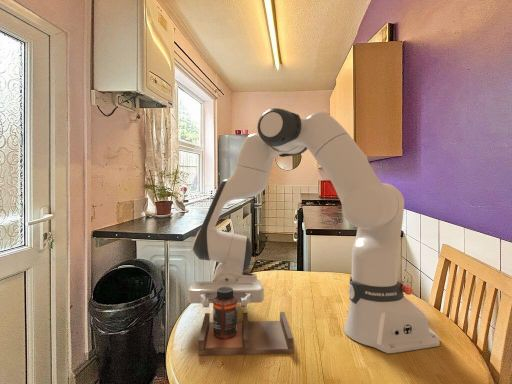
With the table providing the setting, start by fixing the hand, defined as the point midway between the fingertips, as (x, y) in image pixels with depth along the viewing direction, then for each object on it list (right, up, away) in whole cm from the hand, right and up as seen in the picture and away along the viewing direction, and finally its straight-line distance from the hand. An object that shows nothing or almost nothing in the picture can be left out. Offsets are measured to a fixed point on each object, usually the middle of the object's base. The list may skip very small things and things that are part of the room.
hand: (224, 304), depth 76 cm
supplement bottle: (0, -8, +1) cm, 8 cm away
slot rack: (+5, -9, +1) cm, 10 cm away
